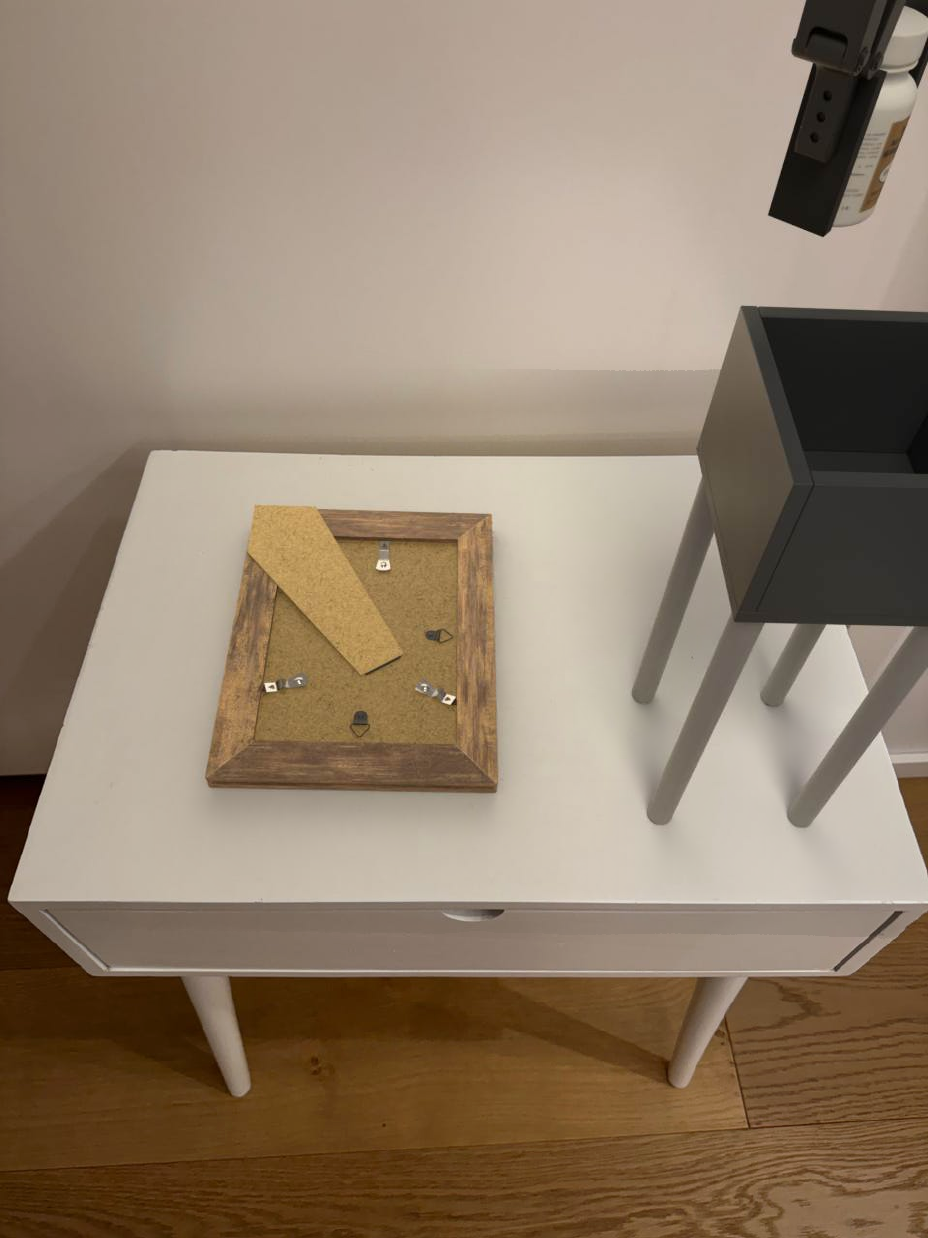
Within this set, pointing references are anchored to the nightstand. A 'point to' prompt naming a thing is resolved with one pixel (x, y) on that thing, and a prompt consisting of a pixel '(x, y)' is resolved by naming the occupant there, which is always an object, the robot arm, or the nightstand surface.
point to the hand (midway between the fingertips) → (825, 199)
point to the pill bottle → (885, 120)
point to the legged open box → (806, 519)
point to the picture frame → (361, 654)
